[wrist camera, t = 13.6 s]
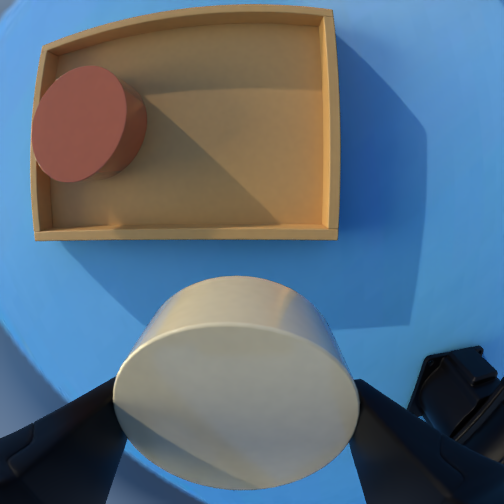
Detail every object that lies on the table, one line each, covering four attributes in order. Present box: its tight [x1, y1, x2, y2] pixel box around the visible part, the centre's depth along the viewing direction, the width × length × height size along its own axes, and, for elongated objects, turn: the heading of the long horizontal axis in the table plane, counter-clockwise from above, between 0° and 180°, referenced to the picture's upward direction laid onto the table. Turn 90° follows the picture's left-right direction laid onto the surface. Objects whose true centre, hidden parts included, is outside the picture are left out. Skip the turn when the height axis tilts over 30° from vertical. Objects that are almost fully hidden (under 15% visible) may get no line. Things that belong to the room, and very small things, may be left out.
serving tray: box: [30, 4, 341, 241], centre depth 15 cm, size 13×18×2 cm
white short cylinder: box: [113, 276, 360, 490], centre depth 8 cm, size 6×6×3 cm
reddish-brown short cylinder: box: [31, 66, 147, 183], centre depth 14 cm, size 6×6×3 cm
